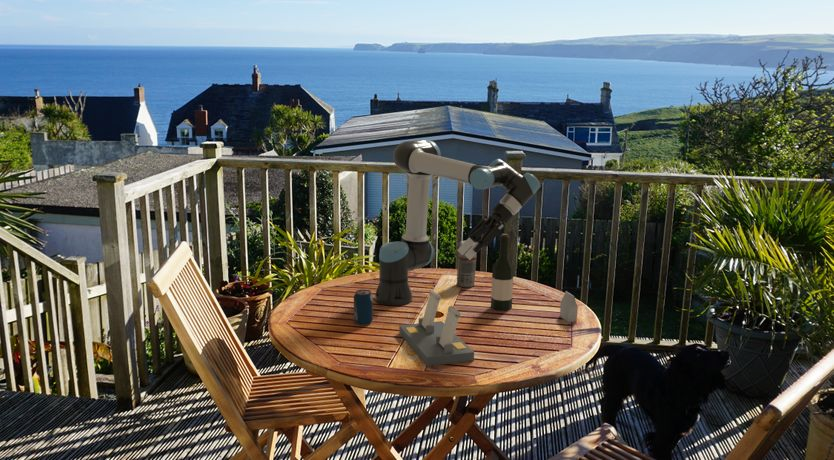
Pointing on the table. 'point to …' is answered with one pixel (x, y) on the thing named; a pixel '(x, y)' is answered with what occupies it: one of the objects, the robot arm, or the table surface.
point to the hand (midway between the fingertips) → (463, 255)
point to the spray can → (466, 269)
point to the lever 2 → (449, 326)
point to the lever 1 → (431, 309)
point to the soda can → (363, 307)
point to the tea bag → (568, 308)
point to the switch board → (435, 344)
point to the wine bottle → (502, 278)
